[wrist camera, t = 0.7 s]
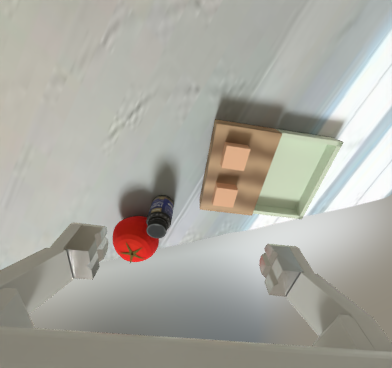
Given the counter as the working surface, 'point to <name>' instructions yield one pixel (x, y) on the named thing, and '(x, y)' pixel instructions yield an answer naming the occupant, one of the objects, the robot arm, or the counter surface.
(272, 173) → the tray
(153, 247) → the tomato
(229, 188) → the tile
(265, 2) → the counter surface
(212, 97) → the counter surface
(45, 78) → the counter surface
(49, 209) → the counter surface
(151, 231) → the pill bottle
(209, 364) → the robot arm
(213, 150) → the board
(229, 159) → the tile
